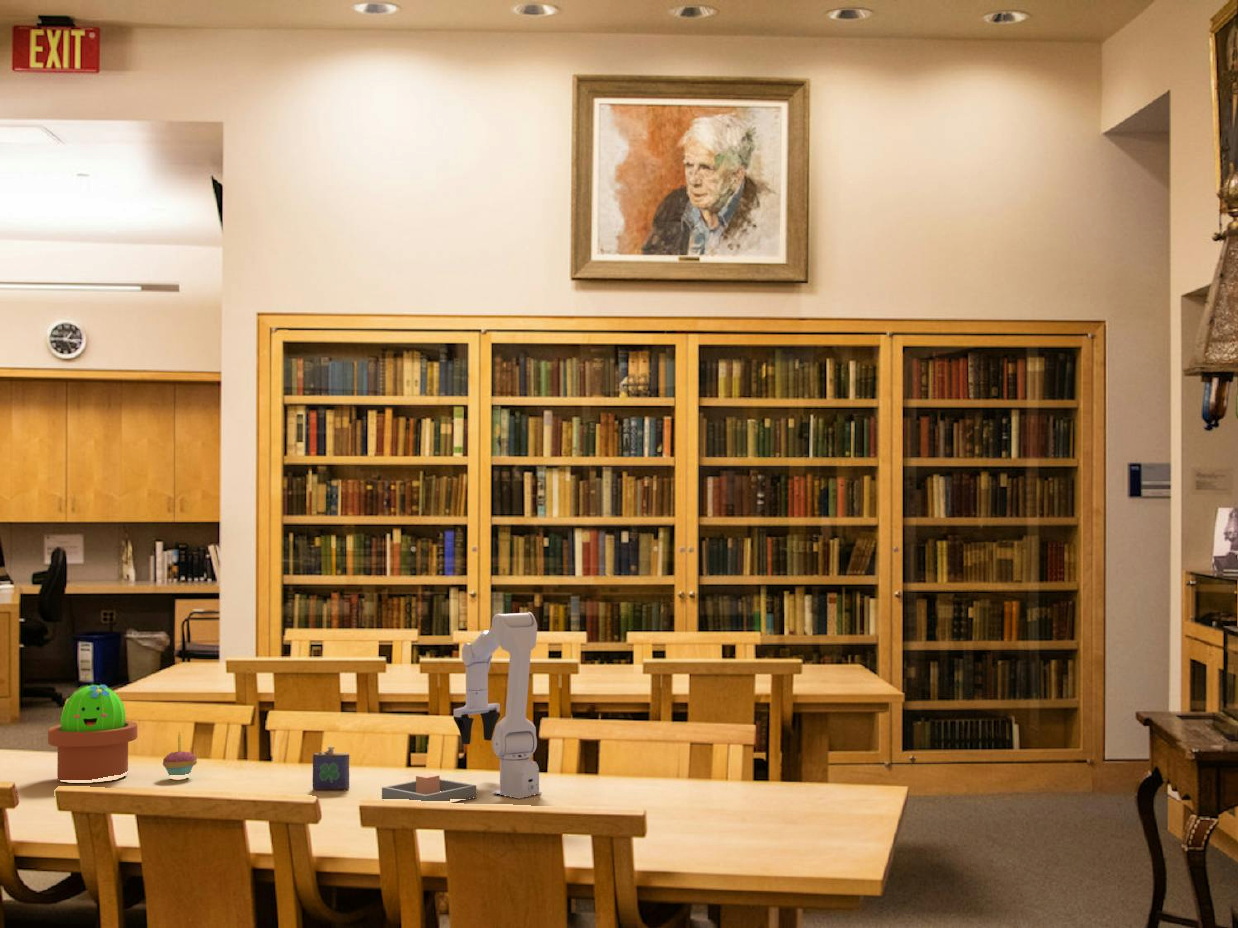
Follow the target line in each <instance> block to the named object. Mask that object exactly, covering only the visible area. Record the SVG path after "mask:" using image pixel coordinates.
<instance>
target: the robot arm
mask: <svg viewBox="0 0 1238 928" xmlns="http://www.w3.org/2000/svg"><path fill="white" fill-rule="evenodd" d="M537 634H538V623H537V620H536V617H535V616H534V614H533V613H532V612H530V611H528V612H518V613H514V612H513V613H496V614H495V615H494V616H493V617H492V621H491V627H490V629H489V630H488V629H487V630H482V631H481V632H480V634H479V635H478V636H477V637H476V639H474V640H473V641H472V642H465V643H464V644H463V645H462V649H461V659H462V663H463V665H465V705H464V706H461V707H458V708H453V721H454V723H455V724H456V726H457V728H458V731H459V734H460V738H461V741H462V744H463V745H471V740H472V739H471V738H472V737H471V735H472V726H473V722H474V719H475V718H473V717H470V716H472V715H478V714H479V715H480V717H481V722H482V726H483V728H482V729H483V739H484V741H491V745H492V747H491V748H492V751H493V753H494V755H495V756H496V757H497V759H498V758H499V790H496V791H492V792H491V793H493V795H495V794H500V795H499V796H501V795H506V796H511V797H510V798H512V797H514V798H513V799H517V798H518V799H519V800H520V799H524V797H525V798H527V797H528V796H529V797H532V796H531V795H534V794H538V795H542V793H543V792H542V791H540V768H539V765H538V763H537V761H534V760H532V759H531V758H532V757H533V754H534V753H535V751H536V749H537V745H538V740H537V730H536V729H537V727H536V726H535V724H534V722H532V721H531V720H529V719H528V718H527V705H528V693H529V684H530V683H529V680H530V679H529V678H530V669H531V656H532V655H531V654H532V650H533V649H534V648H536V645H537V644H536V643H537V636H538V635H537ZM499 648H501V650H503V651H505V652H508V654H509V660H508V661H509V662H508V663H509V664H508V675H507V676H508V677H507V690H506V701H505V716H504V717H503V718H502V719H500V718H501V713H500V711H501V706H500V705H501V704H500V703H499V702H498V703H497V702H493V703H489V672H490V669H491V668H490V667H491V663H492V657H493V654H494V653H495V652H496V651H497V650H498V649H499ZM499 719H500V720H499ZM506 796H505V797H506ZM534 796H535V795H534Z"/></svg>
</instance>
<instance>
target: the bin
mask: <svg viewBox="0 0 1238 928" xmlns="http://www.w3.org/2000/svg"><path fill="white" fill-rule="evenodd" d="M440 791H441V792H437V793H432V794H427V795H425V794H420V793H416V780H413V781H407V782H403V783H398V784H393V785H387V786H382V787H381V800H382V799H409V800H421V801H450V799H469V798H473V797H476V798H477V785H476V784H472V783H465V782H460V781H455V780H447V779H442V778H440ZM469 800H470V799H469Z"/></svg>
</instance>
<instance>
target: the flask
mask: <svg viewBox="0 0 1238 928" xmlns="http://www.w3.org/2000/svg"><path fill="white" fill-rule="evenodd" d="M327 749H328V750H326V751H323V752H322V751H319V752H317V753H313V755H312V791H314V792H317V791H318V792H323V791H324V792H327V791H328V792H329V791H332V792H333V791H334V792H335V791H336V792H337V791H340V792H341V791H349V790H350V754H349V753H346V752H345V753H342V752H341V753H340V752H339V753H334V750H335V746H328V747H327Z"/></svg>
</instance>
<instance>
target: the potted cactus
mask: <svg viewBox="0 0 1238 928" xmlns="http://www.w3.org/2000/svg"><path fill="white" fill-rule="evenodd" d="M61 709H62V712H61V716H60V722H59V724H57V725H53V726H51V727H49V728H48V730H47V744H48V745H49V746H53V747H57V770H56V771H57V777H58V778H57V780H58V779H59V780H92V779H98V778H103V777H108V776H114V775H121V774H123V773H125V772H127V771H128V772H129V743H130V742H132V741H134V740H136V739H137V738H138V723H137V721H136V722H135V721H132V720H131V721H130V720H127V719H126V714H128V712H126V710H127V709H125V706H124V703H123V702H122V700H121V698H120V696H119V695H118V693H116V692H115V691H114V690H113V689H112V688H109V687H108V685H106V684H100V685H97V684H90V685H86V686H85V685H82V686H80V687H78V689H77V690H75V691H73V693H72V695H70V697H69V698H68V699H67V701H65V704H64V705H63V707H61ZM59 780H58V781H59Z"/></svg>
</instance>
